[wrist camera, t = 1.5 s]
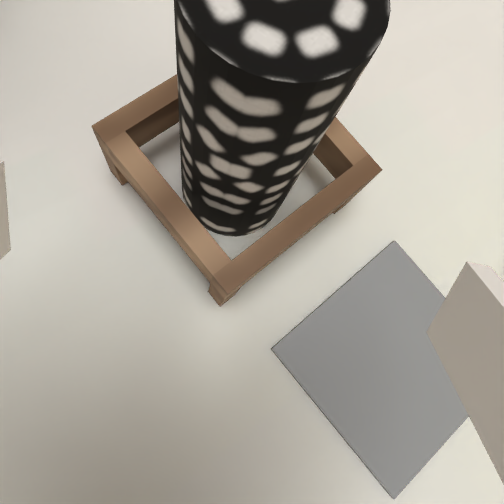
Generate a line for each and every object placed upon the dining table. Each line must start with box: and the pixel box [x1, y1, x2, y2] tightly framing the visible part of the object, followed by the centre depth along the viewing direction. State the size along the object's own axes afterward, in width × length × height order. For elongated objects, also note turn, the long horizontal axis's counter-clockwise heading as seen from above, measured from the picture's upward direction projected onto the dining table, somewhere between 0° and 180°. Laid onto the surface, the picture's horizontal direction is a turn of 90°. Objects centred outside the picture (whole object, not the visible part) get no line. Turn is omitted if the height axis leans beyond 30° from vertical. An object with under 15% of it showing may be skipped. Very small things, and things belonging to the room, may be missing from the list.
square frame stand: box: [92, 75, 382, 306], centre depth 32 cm, size 14×14×7 cm
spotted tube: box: [174, 0, 390, 236], centre depth 25 cm, size 8×8×20 cm
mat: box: [271, 241, 469, 499], centre depth 33 cm, size 14×14×1 cm
